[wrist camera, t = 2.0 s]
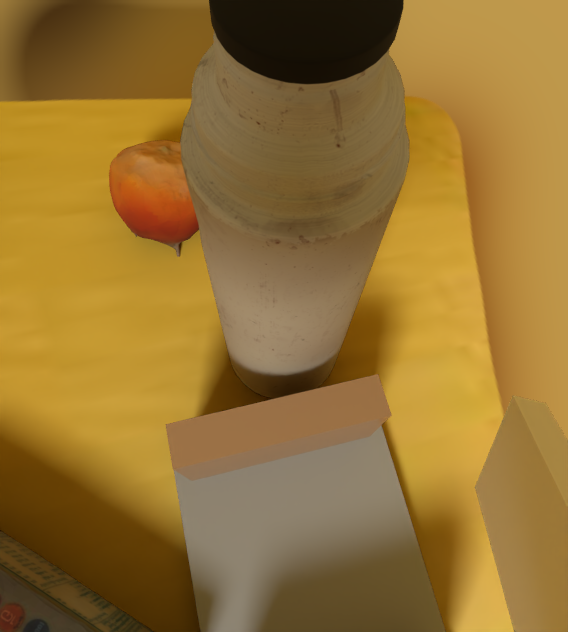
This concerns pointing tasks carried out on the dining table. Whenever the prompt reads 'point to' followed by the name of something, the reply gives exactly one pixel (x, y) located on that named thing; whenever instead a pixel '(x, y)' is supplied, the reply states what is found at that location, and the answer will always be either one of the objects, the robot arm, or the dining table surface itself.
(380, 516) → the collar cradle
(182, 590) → the dining table surface
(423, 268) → the dining table surface
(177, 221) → the fruit
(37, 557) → the beverage carton
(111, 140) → the dining table surface
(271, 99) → the thermos bottle
